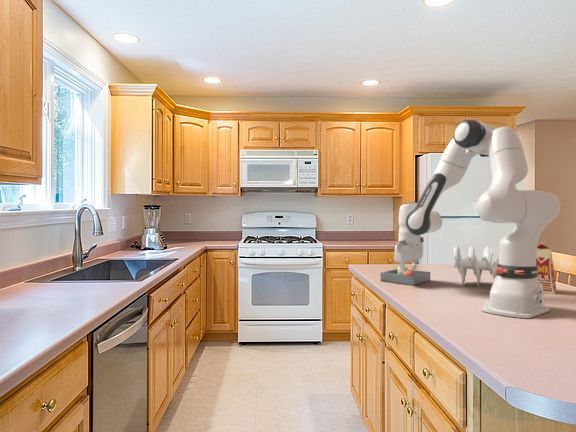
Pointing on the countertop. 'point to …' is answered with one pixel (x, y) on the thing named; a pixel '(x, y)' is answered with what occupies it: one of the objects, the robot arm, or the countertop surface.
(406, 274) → the tomato ball
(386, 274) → the bin
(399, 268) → the cucumber chunk
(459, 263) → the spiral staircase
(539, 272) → the milk carton
